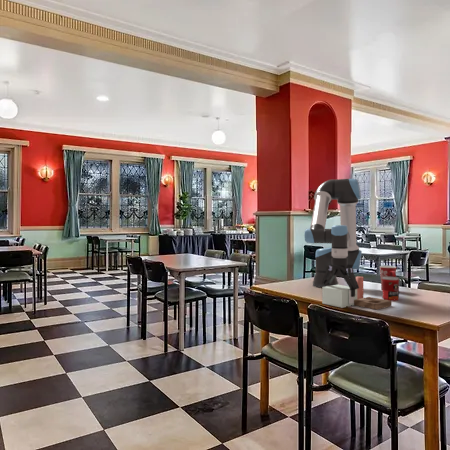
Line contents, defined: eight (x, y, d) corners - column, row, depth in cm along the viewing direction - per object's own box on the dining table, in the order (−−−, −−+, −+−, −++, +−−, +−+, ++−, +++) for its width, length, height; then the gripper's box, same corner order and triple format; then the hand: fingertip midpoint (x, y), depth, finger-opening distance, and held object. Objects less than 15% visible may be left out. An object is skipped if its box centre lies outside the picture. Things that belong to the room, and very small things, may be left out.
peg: (354, 300, 199) (354, 277, 199) (358, 300, 201) (358, 276, 201) (360, 302, 196) (360, 277, 196) (364, 301, 198) (364, 277, 198)
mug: (377, 289, 231) (377, 265, 231) (392, 288, 231) (392, 265, 230) (385, 293, 218) (385, 268, 218) (402, 293, 218) (402, 268, 218)
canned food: (389, 301, 197) (389, 279, 197) (379, 298, 205) (379, 276, 205) (402, 300, 199) (402, 278, 199) (391, 297, 207) (391, 276, 207)
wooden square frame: (354, 305, 189) (354, 299, 189) (369, 301, 196) (369, 296, 196) (376, 309, 180) (376, 304, 180) (391, 306, 187) (391, 300, 187)
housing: (322, 303, 194) (322, 287, 194) (337, 300, 201) (337, 284, 200) (342, 307, 184) (341, 290, 184) (357, 304, 191) (357, 287, 191)
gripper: (314, 255, 200) (314, 298, 200) (356, 259, 180) (356, 306, 180) (324, 254, 204) (324, 296, 205) (366, 258, 184) (366, 304, 185)
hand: (339, 301), depth 192 cm, fingers open, 13 cm apart
